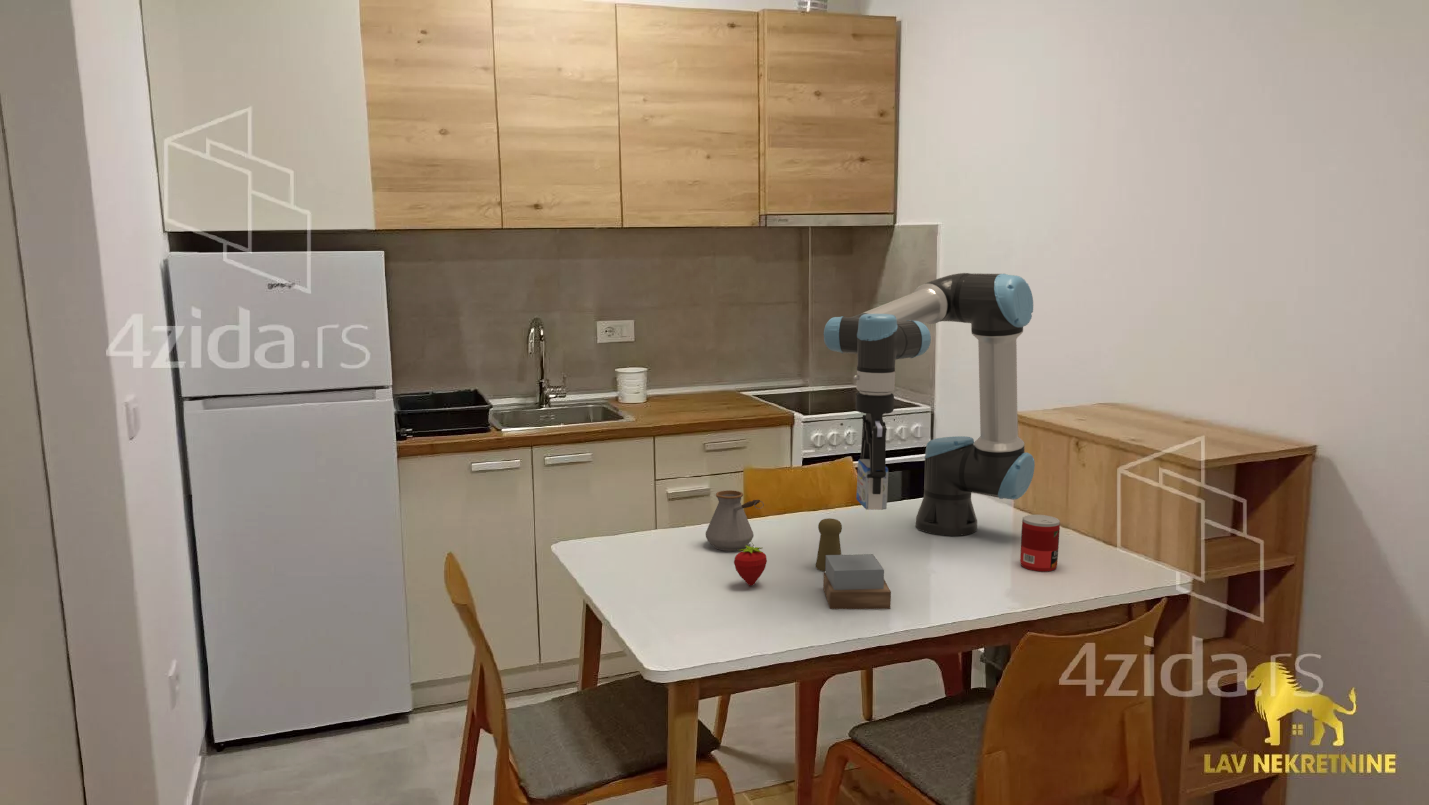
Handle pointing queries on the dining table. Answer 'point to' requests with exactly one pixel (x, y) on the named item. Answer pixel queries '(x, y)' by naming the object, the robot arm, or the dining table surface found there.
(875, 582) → the slate slab
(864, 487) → the medicine box
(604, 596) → the dining table surface
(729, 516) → the coffee pot
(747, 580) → the strawberry
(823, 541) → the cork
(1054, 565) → the canned food
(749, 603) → the dining table surface
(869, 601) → the walnut slab
